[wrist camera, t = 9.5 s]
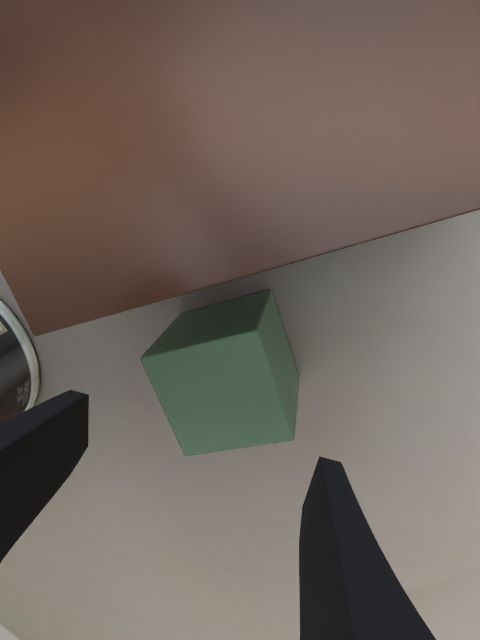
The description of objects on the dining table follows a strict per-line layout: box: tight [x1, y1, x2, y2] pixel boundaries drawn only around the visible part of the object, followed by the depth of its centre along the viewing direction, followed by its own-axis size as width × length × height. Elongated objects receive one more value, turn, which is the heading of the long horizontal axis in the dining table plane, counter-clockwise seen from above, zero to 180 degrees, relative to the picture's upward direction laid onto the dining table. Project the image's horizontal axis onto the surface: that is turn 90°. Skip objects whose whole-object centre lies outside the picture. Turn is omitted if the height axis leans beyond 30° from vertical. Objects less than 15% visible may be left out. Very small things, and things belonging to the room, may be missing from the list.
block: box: [140, 290, 299, 456], centre depth 16 cm, size 5×5×5 cm
